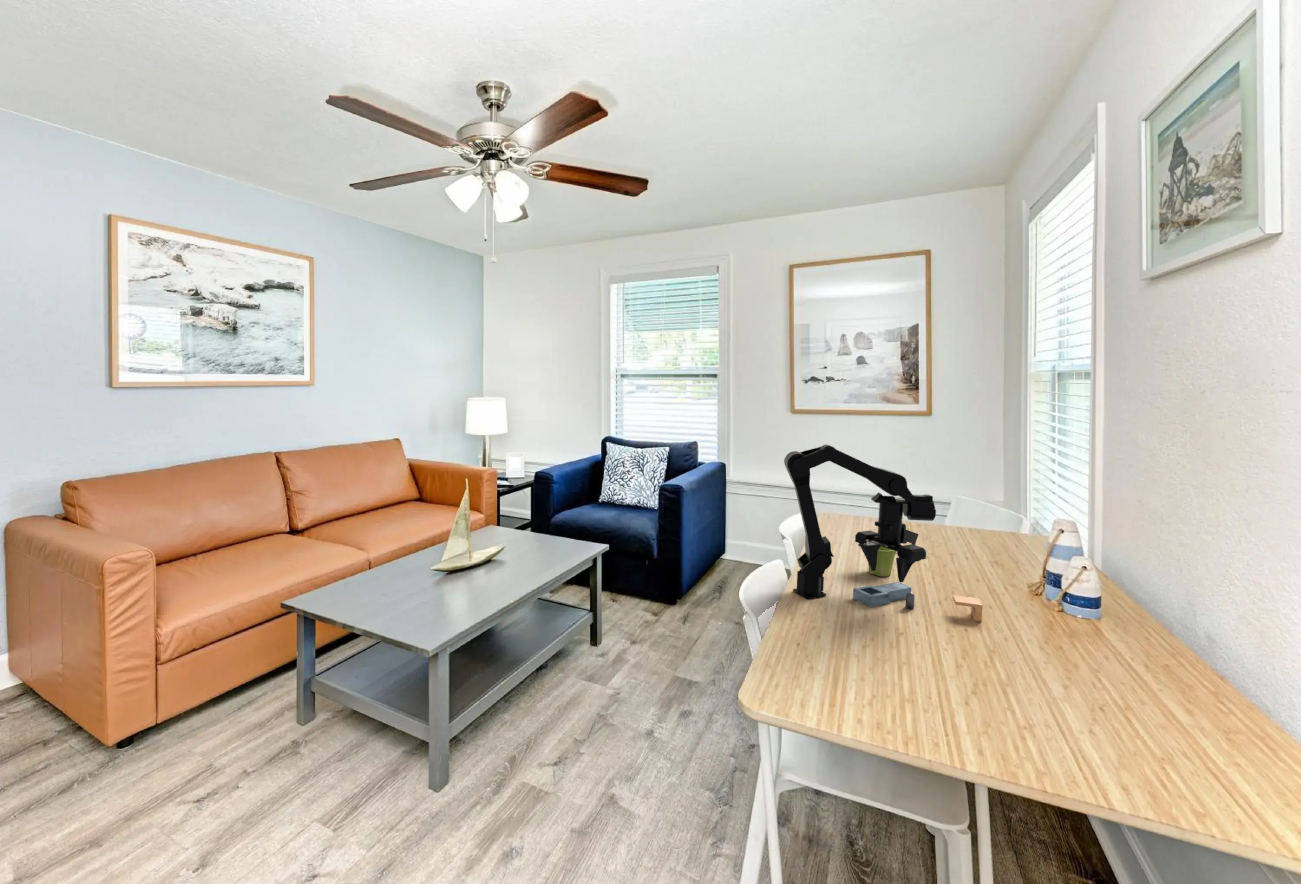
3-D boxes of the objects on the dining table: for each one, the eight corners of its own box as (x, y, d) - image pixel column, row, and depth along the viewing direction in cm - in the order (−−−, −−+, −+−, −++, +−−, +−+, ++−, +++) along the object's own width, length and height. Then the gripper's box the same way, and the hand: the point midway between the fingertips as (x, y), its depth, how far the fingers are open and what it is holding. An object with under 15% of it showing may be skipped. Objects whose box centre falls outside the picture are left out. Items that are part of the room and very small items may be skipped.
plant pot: (902, 579, 154) (904, 550, 153) (870, 578, 154) (871, 550, 154) (888, 568, 164) (890, 541, 163) (858, 568, 164) (859, 541, 163)
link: (870, 607, 134) (871, 596, 134) (852, 598, 139) (853, 588, 139) (913, 598, 140) (914, 588, 139) (894, 590, 145) (895, 580, 145)
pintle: (910, 609, 132) (910, 594, 132) (903, 606, 134) (904, 591, 134) (915, 608, 133) (916, 593, 133) (909, 605, 135) (910, 590, 135)
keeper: (954, 617, 128) (955, 601, 128) (951, 610, 132) (952, 595, 132) (981, 621, 126) (982, 605, 125) (977, 614, 130) (978, 598, 130)
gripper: (943, 524, 132) (939, 584, 134) (884, 509, 150) (881, 562, 151) (911, 528, 128) (907, 590, 130) (855, 512, 145) (852, 566, 147)
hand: (887, 576), depth 139 cm, fingers open, 9 cm apart
